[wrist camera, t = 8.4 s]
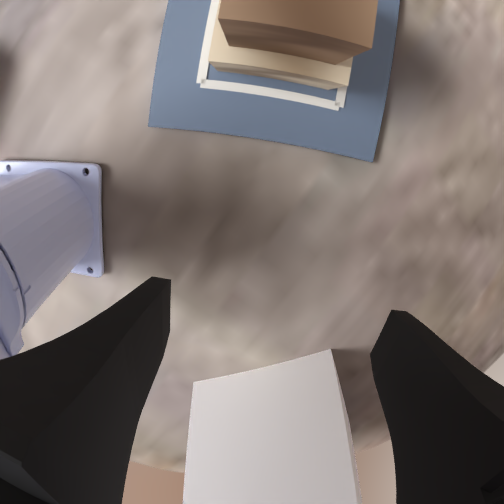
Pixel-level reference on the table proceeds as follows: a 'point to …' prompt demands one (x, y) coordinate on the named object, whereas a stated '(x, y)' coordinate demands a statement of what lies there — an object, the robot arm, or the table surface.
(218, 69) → the maple block
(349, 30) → the walnut cube
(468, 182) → the table surface
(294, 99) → the board
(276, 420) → the milk
